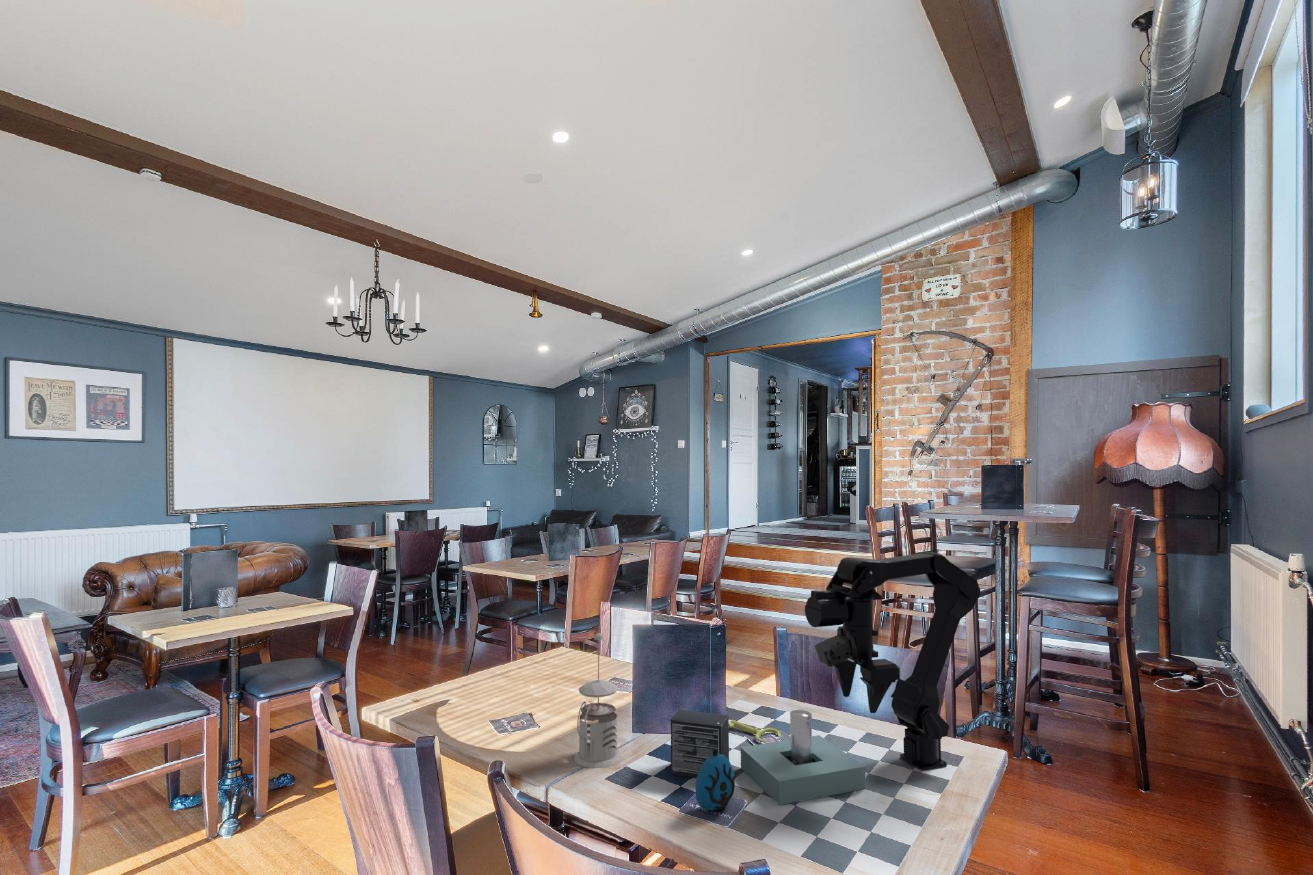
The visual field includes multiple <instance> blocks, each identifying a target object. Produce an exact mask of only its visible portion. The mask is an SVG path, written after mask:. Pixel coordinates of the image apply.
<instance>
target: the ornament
mask: <svg viewBox="0 0 1313 875" xmlns="http://www.w3.org/2000/svg"><path fill="white" fill-rule="evenodd" d="M731 763H732V762H731V761H730V759H729V760H728V759H727V758H726V757H725V756H724V755H722V754H718V752H717V750H716V749H714V750H713V755H711V756H710V757H708V758H707V759H706V760H705V762H704V763H703V765H702V766H701V768H700V770H699V773H698V776H697V778H696V780H695V789H694V793H695V799H696V802H697V803H698V805H699V807H700V808H702V809H704V810H705V811H713V812H714V811H716V810H717V809H718V811H720V810H723V809H725V808H726V807H727V806H728V804H729V802H731V801H730V800H732V798H733V795H734V794H735V787H736V775H735V772H734V769H733V766H732V764H731Z"/></svg>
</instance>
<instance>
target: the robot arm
mask: <svg viewBox="0 0 1313 875" xmlns="http://www.w3.org/2000/svg"><path fill="white" fill-rule="evenodd" d="M836 568H837V569H836V571H835V573H834V575H833V576H832V578H831V579H830V580H829V582H828V583H827V586H826V587H825V590H818V589H813V590H811V591H810V597H808V599H807V600H806V602H805V605H804V613H805V618H806V621H807V622H808V624H809V625H810V626H811V627H812V628H821V627H822V628H824V627H833V626H837V630H836V635H834V636H830V637H828V638H827V639H824V640H823V641H821V642H818V643H817V644H815V645H814V649H815V651H816V655H817V657H818V660H819V663H823V664H824V665H826V666H827V667H829V668H830V667H833V669H834V670H835V674H836V675H837V679H838V682H839V686H840V689H841V693H842V696H843V697H844V698H848V697H850V695H851V691H852V688H853V687H852V686H853V683H854V682H853V681H854V678H855V672H856V668H857V665H858V666H859V668H860V670H859V672H860V674H861V676H862V677H861V676H860V677H859V679H860V680H861V681H862V682H863V683H864V684H865V686H866V693H867V701H868V709H869V713H871V714H875V713H877V712H878V710H879V707H880V706H881V704H882V701H883V699H884V697H885V695H886V694H887V692H888V691H889V689H890V687H891V685H892V684H893V683H895V688H894V690H893V693H892V694H891V695H890V698H892V699H891V703H890V704H891V706H890V707H891V708H892V711H893V713H894V715H895V717H896V718H897V722H898V724H899V725H902V726H904V727H906V728H904V737H903V753H899V757H900V759H903V760H904V761H906V762H907V763H909V764H911V765H912V766H914V767H916V768H918V769H919V770H922V771H923V770H930V769H935V768H940V767H945V766H948V762H947V761H945V760H944V759H942V749H941V748H942V745H941V742H942V741H941V740H942V738H945V737H948V733H949V729H950V725H949V724H948V723H947V722H946V720H945V719H943V717H942V716H940V714H939V706H940V703H941V702H940V697H939V692H938V683H939V681H940V679H941V675H942V672H943V670H944V666H945V664H946V661H947V658H948V656H949V652H950V650H951V647H952V644H953V641H954V639H955V636H956V632H957V629H958V627H959V624H960V621H961V620H962V618H964V617H966V615H968V614H969V613H970V612H971V611H973V609H974V608H975V606H976V603H977V601H978V600H979V597H980V594H981V587H980V586H979V585H980V584H979V582H978V581H977V579H976V578H975V577H974V576H971V575H969V574H968V573H967V572H965V571H964V570H963V569H961V568H960V567H958V566H957V565H955V564H954V563H953V562H951V561H950V560H949V559H948V558H947V557H946V556H944V555H943V554H941V553H937V552H933V551H932V552H931V551H923V552H921V553H915V554H907V555H901V556H900V555H899V556H893V557H887V558H880V559H879V558H878V559H875V558H874V559H873V558H863V557H853V556H852V557H851V556H849V557H848V556H847V557H843V558H842V559H841V560H840V561H839V563H838V565H837V567H836ZM921 575H924V576H925V578H926V580H927V581H928V582H929V583H930V584H931V585H932V586H933V592H932V599H933V600H932V601H933V604H934V612H933V615H932V618H931V620H930V623H929V626H928V629H927V632H926V634H925V637H924V640H923V643H922V646H921V648H920V650H919V651H920V652H919V654H918V656H917V659H916V662H915V665H914V668H913V670H912V673H911V675H910V676H909V677H907V678H906V679H901V668H900V667H899V665H897V664H896V663H895V662H893V661H890V660H889V659H886V658H880V659H879V651H877V650H875V648H874V637H878V636H879V631H878V630H877V629H875V628H874V611H873V610H874V609H873V608H874V605H873V604H874V603H873V601H880V600H882V599H883V595H881V594H880V593H879V592H877V591H876V588H878V587H881V586H883V584H885V582H888V581H890V580H896V579H902V578H908V577H916V576H921ZM841 625H842V626H841ZM874 658H875V659H874ZM876 658H878V659H876Z"/></svg>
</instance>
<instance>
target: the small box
mask: <svg viewBox="0 0 1313 875" xmlns="http://www.w3.org/2000/svg"><path fill="white" fill-rule="evenodd" d="M729 717H730V716H729V714H719V713H713V712H703V711H702V712H701V711H697V710H696V711H694V710H686V709H678V711H677V712H676V713H675V714H673V716H672V717H671V718H670V720H669V721H670V775H675V776H680V777H689V778H695V779H697V776H698V773H699V770H700V768H701V766H702V765H703V763H704V762H705V760H706V759H707V758H708V757H710V756H711V755H713V750H714V749H716V750H717V752H718V754H722V755H724V756H725V757H726V758H727V759H728V760H729V761H730V739H729V738H730V736H729V735H730V732H729V731H730V730H729V729H730V727H729V723H730V721H729V719H730V718H729Z"/></svg>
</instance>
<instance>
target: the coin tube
mask: <svg viewBox="0 0 1313 875" xmlns="http://www.w3.org/2000/svg"><path fill="white" fill-rule="evenodd" d="M789 718H790V719H789V720H790V721H789V722H790V725H789V726H790V730H789V731H790V732H789V733H790V738H789V740H790V745H791V762H792V763H793V764H794V765H795V766H796V765H802V764H808V763H813V758H812V736H813V730H812V729H813V727H812V725H813V724H812V723H813V722H812V718H813V717H812V713H811V712H810V711H807V710H805V709H804V710H803V709H795V710H794V709H793V710H791V711H790V712H789Z"/></svg>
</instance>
